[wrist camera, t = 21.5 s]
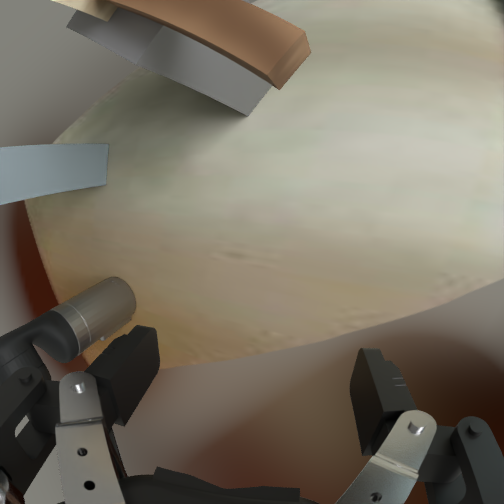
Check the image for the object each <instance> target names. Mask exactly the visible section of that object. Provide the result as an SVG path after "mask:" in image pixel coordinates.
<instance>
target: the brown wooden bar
mask: <svg viewBox="0 0 504 504" xmlns="http://www.w3.org/2000/svg"><path fill="white" fill-rule="evenodd" d="M51 1H54V2H57V3H60V4H63V5H66V6H69V7H71V8H74V9H77V10H79V11H82V12H85V13H87V14H90V15H92V16H95V17H97V18H100V19H102V20H104V21H107V22H108V20H109V19H110V18H111V16H112V15H113V13H114V12H115V11H116V9H117V8H118V7H119V8H122V9H124V10H127V11H130V12H132V13H135V14H137V15H140V16H142V17H145V18H147V19H150V20H152V21H154V22H157V23H159V24H161V25H164V26H166V27H168V28H170V29H172V30H175V31H177V32H179V33H181V34H183V35H185V36H187V37H189V38H191V39H193V40H195V41H197V42H199V43H201V44H203V45H205V46H207V47H209V48H210V49H212V50H214V51H216V52H218V53H220V54H221V55H223V56H225V57H227V58H228V59H230V60H232V61H234V62H235V63H237V64H239V65H240V66H242V67H244V68H246V69H247V70H249V71H250V72H252V73H254V74H255V75H257V76H258V77H260V78H262V79H263V80H265V81H266V82H268V83H269V84H271V85H272V86H274V87H275V88H277V89H278V90H280V89H281V88H282V87H283V85H284V84H285V83H286V82H287V81H288V79H289V78H290V77H291V76H292V75H293V73H294V72H295V71H296V70H297V69H298V68H299V66H300V65H301V64H302V63H303V62H304V61H305V59H306V58H307V57H308V56H309V55H310V54H311V50H310V47H309V43H308V40H307V36H306V33H305V31H304V30H302V29H300V28H298V27H296V26H295V25H293V24H291V23H289V22H287V21H285V20H283V19H281V18H279V17H277V16H275V15H273V14H271V13H269V12H267V11H265V10H263V9H261V8H259V7H256V6H254V5H252V4H250V3H247V2H245V1H243V0H51Z"/></svg>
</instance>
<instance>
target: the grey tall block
mask: <svg viewBox="0 0 504 504" xmlns="http://www.w3.org/2000/svg"><path fill="white" fill-rule="evenodd" d="M243 1H245V2H247V3H250V2H249V1H248V0H243ZM67 28H70V29H71V30H73V31H75V32H77V33H79V34H81V35H83V36H85V37H87V38H89V39H91V40H93V41H94V42H96V43H98V44H100V45H102V46H104V47H105V48H107V49H109V50H111V51H113V52H114V53H116V54H118V55H120V56H121V57H123V58H125V59H126V60H128V61H130V62H131V63H133V64H135V65H137V66H140V67H142V68H145V69H147V70H150V71H152V72H155V73H157V74H160V75H162V76H164V77H167V78H169V79H171V80H174V81H176V82H178V83H181V84H183V85H185V86H187V87H190V88H192V89H194V90H196V91H198V92H200V93H203V94H205V95H207V96H209V97H211V98H213V99H215V100H217V101H219V102H221V103H223V104H225V105H227V106H229V107H231V108H233V109H235V110H237V111H239V112H241V113H243V114H244V115H246V116H249V115H250V113H251V112H252V111H253V109H254V108H255V107H256V106H257V104H258V103H259V102H260V100H261V99H262V98H263V97H264V95H265V94H266V93H267V92H268V90H269V89H270V88H271V87H272V85H271V84H269V83H268V82H266V81H265V80H263V79H262V78H260V77H258V76H257V75H255V74H254V73H252V72H250V71H249V70H247V69H246V68H244V67H242V66H240V65H239V64H237V63H235V62H234V61H232V60H230V59H228V58H227V57H225V56H223V55H221V54H220V53H218V52H216V51H214V50H212V49H210V48H209V47H207V46H205V45H203V44H201V43H199V42H197V41H195V40H193V39H191V38H189V37H187V36H185V35H183V34H181V33H179V32H177V31H175V30H172V29H170V28H168V27H166V26H164V25H161V24H159V23H157V22H154V21H152V20H150V19H147V18H145V17H142V16H140V15H137V14H135V13H132V12H130V11H127V10H124V9H122V8H119V7H118V8H117V9H116V11H115V12H114V13H113V15H112V16H111V18H110V19H109V20H108V22H107V21H104V20H102V19H100V18H97V17H95V16H92V15H90V14H87V13H85V12H82V11H79V10H77V11H76V12H75V14H74V15H73V17H72V19H71V20H70V22H69V23H68V25H67Z"/></svg>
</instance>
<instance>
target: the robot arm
mask: <svg viewBox="0 0 504 504" xmlns="http://www.w3.org/2000/svg"><path fill="white" fill-rule="evenodd" d="M135 308H136V301H135V297H134V294H133V292H132V290H131V289H130V287H129V286H128V285H127V284H126V283H125V282H124V281H123V280H122V279H120V278H117V277H110V278H108V279H106V280H104V281H102V282H100V283H99V284H96V285H95V286H93V287H91V288H89V289H87V290H85V291H83V292H82V293H80V294H78V295H76V296H74V297H72V298H71V299H69V300H67V301H65V302H63V303H62V304H60V305H58V306H56V307H55V308H53V309H51V310H50V311H48V312H46V313H44V314H42V315H41V316H39V317H37V318H36V319H34V320H32V321H31V322H29V323H27V324H25V325H23V326H21V327H19V328H17V329H15V330H13V331H11V332H9V333H7V334H5V335H3V336H1V337H0V504H25V499H24V494H25V493H26V491H27V489H28V488H29V486H30V484H31V483H32V481H33V479H34V478H35V476H36V475H37V473H38V472H39V470H40V468H41V467H42V465H43V464H44V462H45V461H46V459H47V457H48V456H49V454H50V453H51V451H52V450H53V448H54V447H55V445H57V455H58V463H59V470H60V476H61V483H62V489H63V494H64V500H65V501H64V502H61V503H58V504H319V503H317V502H315V501H312V500H309V499H306V498H302V497H300V488H282V487H268V486H261V487H250V488H236V489H223V488H220V487H218V486H215V485H213V484H210V483H208V482H205V481H203V480H201V479H198V478H196V477H194V476H191V475H188V474H184V473H179V472H175V471H171V470H168V469H164V468H160V467H157V468H156V470H155V473H154V475H135V476H130V477H128V475H127V473H126V470H125V468H124V465H123V462H122V458H121V456H120V452H119V449H118V445H117V442H116V439H115V435H114V432H113V429H112V426H113V424H114V423H115V424H118V425H121V426H125V425H126V423H127V422H128V420H129V419H130V417H131V415H132V414H133V412H134V410H135V409H136V407H137V406H138V404H139V402H140V401H141V399H142V397H143V396H144V394H145V393H146V391H147V389H148V388H149V386H150V384H151V383H152V381H153V379H154V378H155V376H156V375H157V373H158V370H159V366H160V356H159V348H158V340H157V332H156V329H155V328H151V327H146V326H140V325H136V326H135V327H134V328H133V329H132V330H131V331H130V333H129V334H128V335H125V334H124V335H122V336H120V337H118V338H116V339H114V340H113V341H112V342H111V343H110V344H109V346H108V348H106V349H105V350H104V351H103V352H102V354H100V355H99V356H98V357H97V358H96V359H95V360H94V362H93V363H92V364H91V365H90V366H89V367H88V368H87V369H86V370H85V371H84V372H73V373H70V374H68V375H66V376H65V377H63V378H62V380H61V381H51V376H50V373H49V371H48V369H47V367H46V366H45V364H44V363H43V361H42V360H41V358H40V356H39V355H38V353H37V351H36V350H35V348H34V346H33V344H34V345H36V346H38V347H40V348H41V349H43V350H44V351H45V352H46V353H48V354H49V355H50V356H51V357H52V358H54V359H55V360H57V361H59V362H61V363H67V362H70V361H71V360H73V359H74V358H75V357H76V356H78V355H79V354H80V353H82V352H83V351H84V350H86V349H87V348H88V347H90V346H91V345H92V344H94V343H95V342H96V341H98V340H99V339H100V340H102V341H104V340H105V339H107V338H108V337H109V336H111V335H112V334H113V333H115V332H116V331H117V330H119V329H120V328H121V327H123V326H124V325H125V324H126V323H128V322H129V321H130V320H131V316H132V314H133V313H134V311H135ZM350 396H351V401H352V406H353V411H354V415H355V420H356V425H357V431H358V436H359V441H360V446H361V452H362V456H366V455H372V456H373V457H372V458H371V459H370V461H369V462H368V463H367V465H366V466H365V467H364V469H363V470H362V472H361V473H360V474H359V475H358V477H357V478H356V479H355V481H354V482H353V483H352V484H351V486H350V487H349V488H348V489H347V491H346V492H345V493H344V494H343V495H342V496H341V498H340V499H339V500H338V501H337V502H336V503H335V504H404V502H405V500H406V498H407V497H408V495H409V493H410V491H411V489H412V488H413V486H414V484H415V482H416V481H422V482H424V483H425V488H426V492H427V498H428V502H429V504H504V457H503V455H502V453H501V451H500V448H499V446H498V444H497V442H496V440H495V438H494V436H493V434H492V432H491V430H490V428H489V426H488V425H487V423H486V422H485V421H483V420H482V419H480V418H477V417H472V416H470V417H465V418H463V419H462V420H461V421H460V422H459V424H458V425H457V427H446V426H439V425H436V422H435V420H434V419H433V418H432V417H431V416H430V415H429V414H427V413H425V412H422V411H418V410H417V408H416V406H415V404H414V401H413V399H412V397H411V394H410V392H409V390H408V387H407V386H406V383H405V381H404V379H403V376H402V374H401V372H400V370H399V368H398V367H397V366H395V365H394V364H393V363H392V362H391V361H385V360H384V358H383V355H382V353H381V351H380V349H378V348H361V349H360V350H359V352H358V356H357V359H356V363H355V366H354V370H353V373H352V377H351V381H350ZM25 415H27V417H28V419H29V422H28V423H27V424H26V426H25V427H24V428H23V429H22V431H21V432H20V433H19V434H18V436H17V437H15V429H16V427H17V425H18V424H19V423H20V422H21V420H22V419H23V418H24V417H25ZM462 475H463V476H462ZM463 478H464V479H463ZM465 485H466V486H465Z"/></svg>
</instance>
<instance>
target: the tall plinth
mask: <svg viewBox="0 0 504 504" xmlns="http://www.w3.org/2000/svg"><path fill="white" fill-rule="evenodd" d="M108 149H109V144H48V145H28V146H14V147H1V148H0V205H2V204H6V203H10V202H15V201H19V200H24V199H29V198H34V197H39V196H44V195H49V194H54V193H60V192H65V191H71V190H77V189H83V188H89V187H95V186H102V185H106V176H107V161H108Z"/></svg>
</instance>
